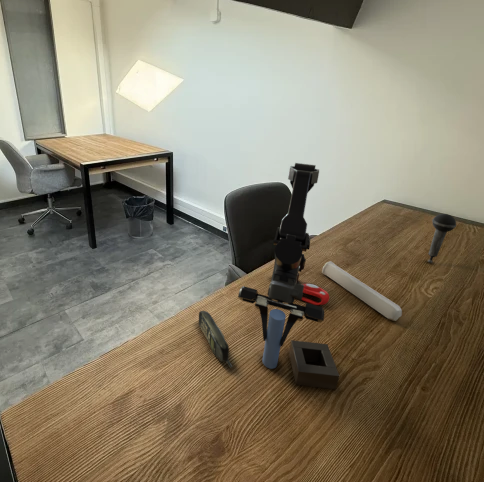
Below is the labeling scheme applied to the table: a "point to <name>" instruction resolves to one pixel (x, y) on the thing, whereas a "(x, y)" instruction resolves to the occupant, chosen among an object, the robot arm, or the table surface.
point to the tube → (363, 291)
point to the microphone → (440, 232)
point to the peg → (273, 338)
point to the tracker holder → (315, 294)
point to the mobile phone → (214, 337)
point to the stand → (313, 374)
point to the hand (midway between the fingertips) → (272, 343)
